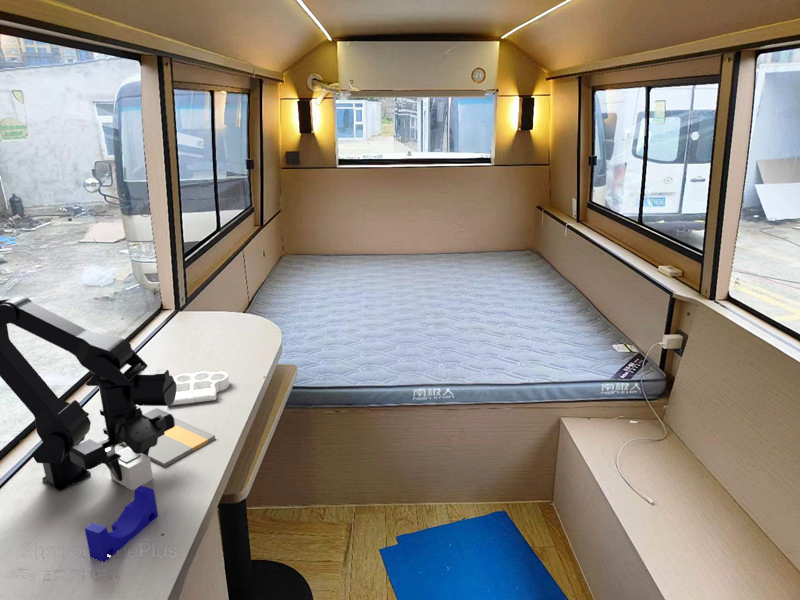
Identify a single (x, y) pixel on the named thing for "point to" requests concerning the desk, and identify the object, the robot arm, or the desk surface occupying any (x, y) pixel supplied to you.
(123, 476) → the white block
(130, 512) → the blue cradle bracket
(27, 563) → the desk surface
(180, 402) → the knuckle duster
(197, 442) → the grey flat board
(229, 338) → the desk surface
